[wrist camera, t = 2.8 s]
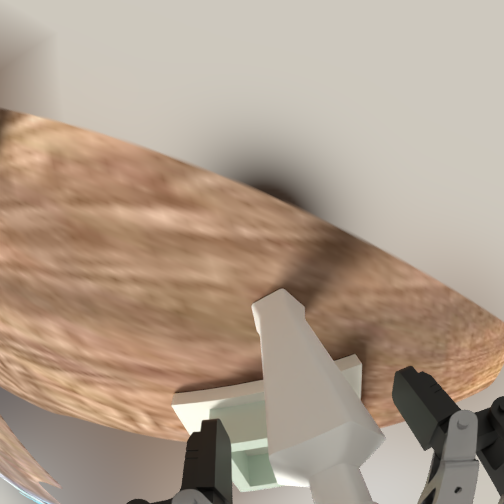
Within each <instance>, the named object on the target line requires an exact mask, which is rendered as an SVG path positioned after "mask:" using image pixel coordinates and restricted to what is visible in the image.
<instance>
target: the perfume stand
mask: <svg viewBox="0 0 504 504" xmlns="http://www.w3.org/2000/svg"><path fill="white" fill-rule="evenodd" d="M334 362H335V364H336V365H337V367H338V368H339V369H340V371H341V372H342V374H343V375H344V377H345V378H346V380H347V381H348V383H349V384H350V386H351V387H352V389H353V390H354V391H355V393H356V394H357V396H358V397H359V399H360V400H361V381H362V363H361V362H360V360H359V359H358V357H357V356H356V354H354V355H351V356H348V357H345V358H341V359H338V360H335V361H334ZM171 406H172V407H173V409H174V411H175V412H176V414H177V415H178V417H179V419H180V420H181V422H182V423H183V425H184V427H185V428H186V430H187V431H188V433H189V434H190V436H191V434H192V433H193V432H199V431H200V430H201V422H202V420H208V419H217V418H219V419H220V420H221V422H222V424H223V426H224V428H225V430H226V432H227V434H228V436H229V438H230V442H231V456H232V481H233V482H234V484H235V485H236V486H237V488H238V489H239V490H240V491H241V492H246V491H254V490H261V489H267V488H274V487H280V486H284V485H280V484H278V483H277V480H276V478H275V475H274V472H273V469H272V466H271V464H270V461H269V455H268V440H267V426H266V411H265V397H264V382H263V380H258V381H254V382H249V383H243V384H238V385H232V386H227V387H220V388H214V389H207V390H200V391H192V392H183V393H174V395H173V400H172V404H171Z"/></svg>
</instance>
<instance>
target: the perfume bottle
mask: <svg viewBox="0 0 504 504" xmlns="http://www.w3.org/2000/svg"><path fill="white" fill-rule="evenodd" d="M252 311H253V315H254V320H255V324H256V329H257V332H258V333H259V335H260V340H261V354H262V368H263V382H264V397H265V411H266V426H267V440H268V455H269V461H270V464H271V466H272V469H273V472H274V475H275V478H276V480H277V483H278V484H280V485H290V486H302V487H310V490H311V494H312V498H313V501H314V504H378V503H376V502H373V501H372V498H371V496H370V494H369V491H368V488H367V486H366V484H365V481H364V479H363V477H362V474H361V472H360V469H359V467H360V466H361V465H362V464H363V463H364V462H365V461H366V460H367V459H368V458H369V457H370V456H371V455H372V454H373V453H374V452H375V451H376V450H377V449H378V448H379V447H380V445H381V444H382V443H383V442H384V441H385V440H386V437H385V436H384V434H383V433H382V431H381V430H380V428H379V427H378V425H377V424H376V422H375V421H374V419H373V418H372V417H371V415H370V414H369V412H368V411H367V409H366V408H365V406H364V405H363V403H362V402H361V400H360V399H359V397H358V396H357V394H356V393H355V391H354V390H353V389H352V387H351V386H350V384H349V383H348V381H347V380H346V378H345V377H344V375H343V374H342V372H341V371H340V369H339V368H338V367H337V365H336V364H335V362H334V361H333V359H332V358H331V356H330V355H329V353H328V352H327V350H326V349H325V348H324V346H323V345H322V343H321V342H320V340H319V339H318V337H317V336H316V334H315V333H314V332H313V330H312V329H311V327H310V326H309V324H308V323H307V321H306V320H305V307H304V306H303V305H302V304H301V303H300V302H299V301H297V300H296V299H295V298H294V297H293V296H292V295H291V294H289V293H288V292H287V291H286V290H285V289H279V290H277V291H275V292H273V293H272V294H270V295H268V296H266V297H264V298H262V299H260V300H258V301H256V302H255V303H253V304H252Z"/></svg>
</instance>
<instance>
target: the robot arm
mask: <svg viewBox="0 0 504 504" xmlns="http://www.w3.org/2000/svg"><path fill="white" fill-rule="evenodd" d="M392 398H393V401H394V404H395V405H396V407H397V408H398V410H399V412H400V413H401V415H402V416H403V418H404V419H405V421H406V422H407V424H408V426H409V427H410V429H411V430H412V432H413V433H414V435H415V437H416V438H417V440H418V441H419V443H420V444H421V446H422V448H423V449H424V451H426V450H427V449H429V448H431V447H432V448H433V449H434V453H433V457H432V461H431V466H430V470H429V473H428V477H427V481H426V484H425V487H424V490H423V492H422V493H421V496H420V498H419V501H418V503H417V504H472V503H473V499H474V494H475V489H476V483H477V477H478V471H479V461H478V460H476V459H475V455H477V456H478V458H479V459H480V461H481V463H482V464H483V466H484V468H485V470H486V471H487V473H488V475H489V476H490V478H491V480H492V482H493V484H494V485H495V487H496V489H497V491H498V492H499V495H500V496H501V498H500V500H499V502H498V504H504V396H502V397H499V398H497V399H496V400H495V401H494V402H493V404H492V405H491V407H490V408H487V409H484V410H482V411H479V412H475V413H473V412H472V411H469V410H461V409H460V408H459V407H458V406H457V405H456V404H455V402H454V401H453V400H452V399H451V398H450V397H449V395H448V394H447V393H446V392H445V391H444V390H442V387H441V386H440V385H439V384H437V382H436V381H435V379H434V378H433V377H432V376H431V375H429V374H427V373H425V372H423V371H422V372H420V373H418V372H417V371H416V370H415V369H414V368H413V367H412V366H408V367H406V368H403V369H401V370H399V371H397V372H396V373H395V377H394V384H393V391H392ZM127 504H232V456H231V442H230V438H229V436H228V434H227V432H226V430H225V428H224V426H223V424H222V422H221V420H220V419H219V418H217V419H208V420H202V422H201V430H200V431H199V432H193V433H192V434H191V436H190V437H189V439H188V441H187V447H186V455H185V462H184V470H183V478H182V486H181V489H180V491H179V492H178V493H177V494H176V495H175V496H174V497H173V498H171V499H168V500H165V501H160V502H154V503H149V502H147V501H145V500H143V499H134V500H131V501H129V502H128V503H127Z"/></svg>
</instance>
